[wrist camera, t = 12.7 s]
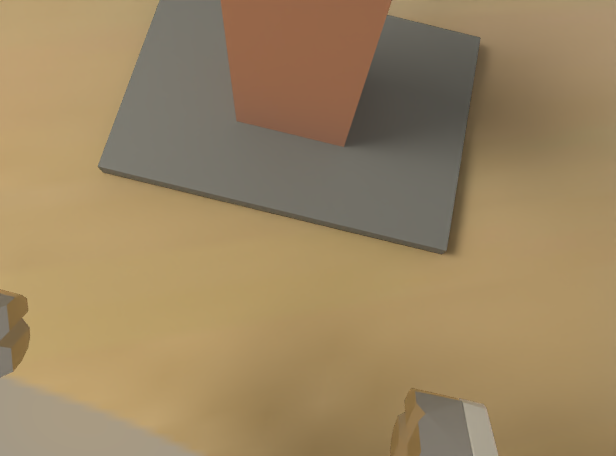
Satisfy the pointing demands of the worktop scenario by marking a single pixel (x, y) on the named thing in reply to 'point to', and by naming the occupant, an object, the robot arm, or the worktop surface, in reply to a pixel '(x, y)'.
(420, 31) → the mat
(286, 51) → the stub
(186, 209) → the worktop surface
